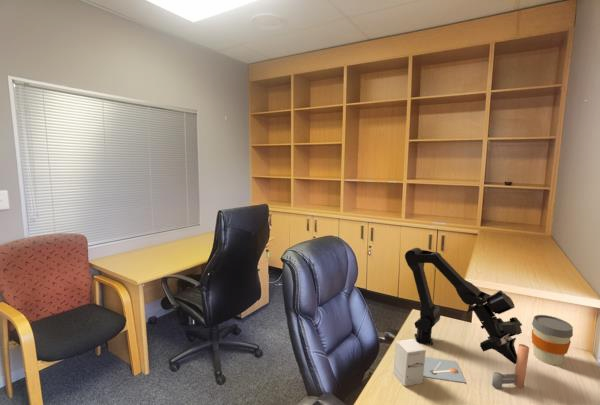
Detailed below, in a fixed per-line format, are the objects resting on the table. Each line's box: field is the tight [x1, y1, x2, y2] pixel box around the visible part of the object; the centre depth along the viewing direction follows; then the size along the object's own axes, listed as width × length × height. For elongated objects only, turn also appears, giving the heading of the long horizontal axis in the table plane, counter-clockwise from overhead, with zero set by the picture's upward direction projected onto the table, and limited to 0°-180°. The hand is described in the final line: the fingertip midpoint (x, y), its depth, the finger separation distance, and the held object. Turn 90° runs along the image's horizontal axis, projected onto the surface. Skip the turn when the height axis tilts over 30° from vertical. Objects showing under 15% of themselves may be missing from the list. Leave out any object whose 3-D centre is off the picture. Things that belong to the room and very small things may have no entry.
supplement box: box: [392, 338, 427, 387], centre depth 113 cm, size 7×7×13 cm
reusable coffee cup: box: [531, 314, 574, 366], centre depth 127 cm, size 13×13×15 cm
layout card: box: [423, 356, 467, 384], centre depth 119 cm, size 12×14×1 cm
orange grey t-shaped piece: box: [491, 343, 530, 390], centre depth 110 cm, size 11×3×14 cm, turn 95°
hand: (517, 363), depth 113 cm, fingers closed
